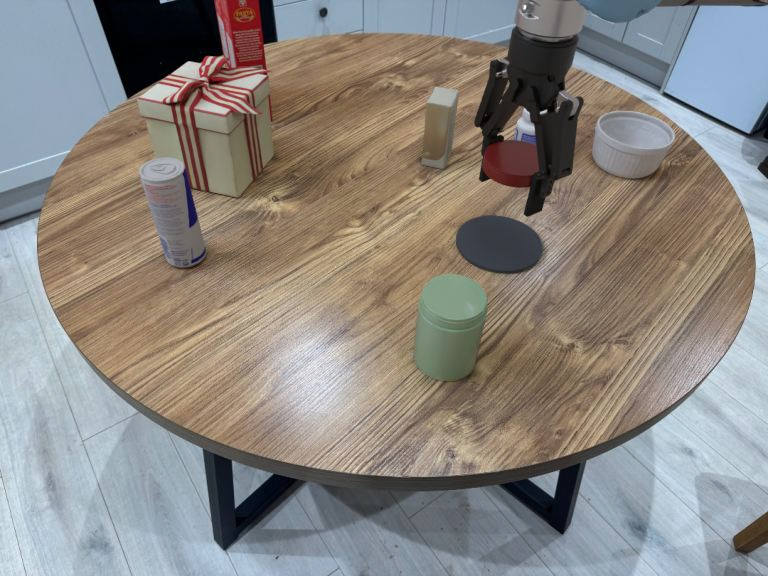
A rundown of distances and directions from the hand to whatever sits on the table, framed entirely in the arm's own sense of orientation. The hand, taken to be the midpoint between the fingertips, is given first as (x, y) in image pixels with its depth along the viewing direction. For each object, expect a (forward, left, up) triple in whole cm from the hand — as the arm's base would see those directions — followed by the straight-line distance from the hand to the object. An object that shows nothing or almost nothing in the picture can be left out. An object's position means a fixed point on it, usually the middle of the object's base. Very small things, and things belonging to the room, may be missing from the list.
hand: (509, 194), depth 80 cm
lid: (0, 0, +6) cm, 6 cm away
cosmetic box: (+24, -6, -9) cm, 26 cm away
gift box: (+40, +27, -9) cm, 49 cm away
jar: (-13, +20, -9) cm, 26 cm away
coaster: (0, 0, -9) cm, 9 cm away
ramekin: (+6, -35, -9) cm, 37 cm away
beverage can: (+21, +41, -9) cm, 47 cm away
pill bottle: (+16, -20, -9) cm, 27 cm away
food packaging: (+59, +15, -9) cm, 62 cm away
